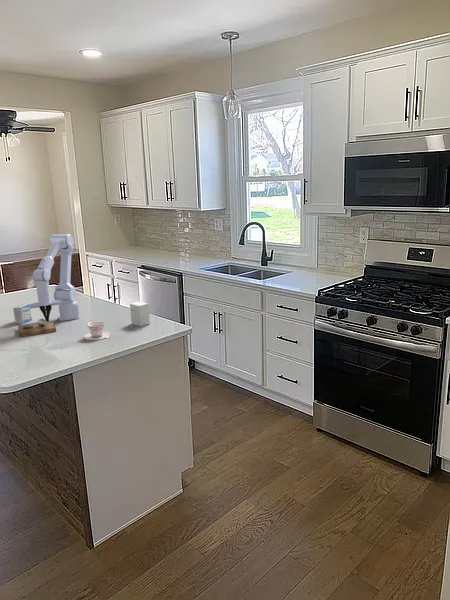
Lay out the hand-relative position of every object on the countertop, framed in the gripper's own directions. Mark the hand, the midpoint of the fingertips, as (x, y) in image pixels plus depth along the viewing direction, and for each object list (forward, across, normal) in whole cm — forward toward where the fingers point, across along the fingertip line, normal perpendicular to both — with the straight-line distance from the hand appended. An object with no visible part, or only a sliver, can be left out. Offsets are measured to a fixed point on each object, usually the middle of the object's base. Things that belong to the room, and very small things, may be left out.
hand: (47, 320), depth 226 cm
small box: (+4, +42, -16) cm, 45 cm away
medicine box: (+4, -10, +20) cm, 23 cm away
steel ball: (0, -3, 0) cm, 3 cm away
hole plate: (+4, -5, 0) cm, 7 cm away
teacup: (+4, +19, -25) cm, 31 cm away
